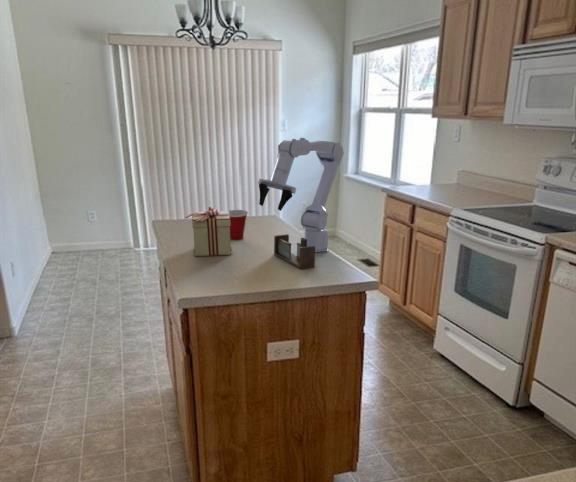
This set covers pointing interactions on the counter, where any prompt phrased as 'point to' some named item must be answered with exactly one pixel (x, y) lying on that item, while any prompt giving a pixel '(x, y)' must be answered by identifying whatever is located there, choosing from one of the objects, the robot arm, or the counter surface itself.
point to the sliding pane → (302, 244)
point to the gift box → (211, 232)
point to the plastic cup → (237, 223)
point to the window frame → (284, 252)
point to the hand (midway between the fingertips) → (270, 207)
